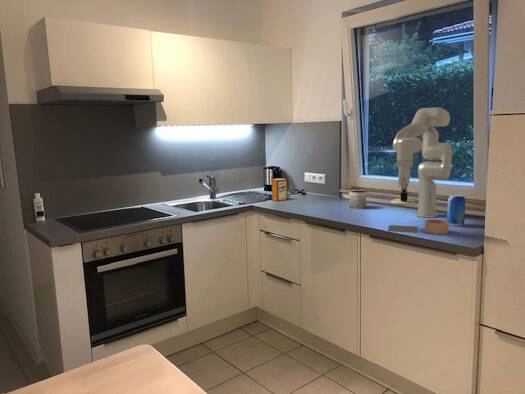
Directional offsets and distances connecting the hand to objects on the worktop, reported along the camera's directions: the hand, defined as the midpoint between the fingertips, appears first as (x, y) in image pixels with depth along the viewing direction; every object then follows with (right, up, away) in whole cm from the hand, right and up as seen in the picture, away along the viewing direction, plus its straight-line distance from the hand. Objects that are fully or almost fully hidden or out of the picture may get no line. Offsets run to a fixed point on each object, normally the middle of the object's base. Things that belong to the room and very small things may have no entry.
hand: (403, 199), depth 219 cm
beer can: (+31, -14, +10) cm, 35 cm away
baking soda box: (-59, -1, +101) cm, 117 cm away
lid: (0, -2, 0) cm, 2 cm away
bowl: (+15, -16, -4) cm, 22 cm away
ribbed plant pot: (-9, -6, +65) cm, 66 cm away
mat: (0, -15, +2) cm, 15 cm away
